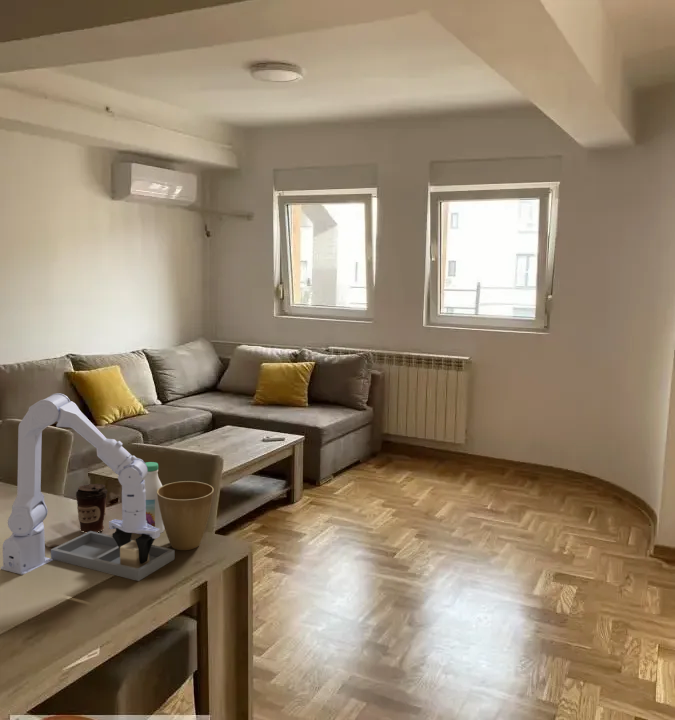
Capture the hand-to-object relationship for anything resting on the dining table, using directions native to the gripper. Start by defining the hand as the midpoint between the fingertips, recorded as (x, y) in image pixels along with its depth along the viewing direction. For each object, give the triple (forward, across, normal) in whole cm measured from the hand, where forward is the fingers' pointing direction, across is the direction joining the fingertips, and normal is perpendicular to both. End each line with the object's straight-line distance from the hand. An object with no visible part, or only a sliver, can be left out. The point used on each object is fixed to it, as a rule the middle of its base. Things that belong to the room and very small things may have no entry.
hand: (134, 560), depth 177 cm
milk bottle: (+2, +11, -20) cm, 23 cm away
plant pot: (+2, -4, -16) cm, 17 cm away
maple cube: (+1, 0, 0) cm, 1 cm away
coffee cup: (+2, +26, -13) cm, 29 cm away
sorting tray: (+2, +7, 0) cm, 7 cm away
